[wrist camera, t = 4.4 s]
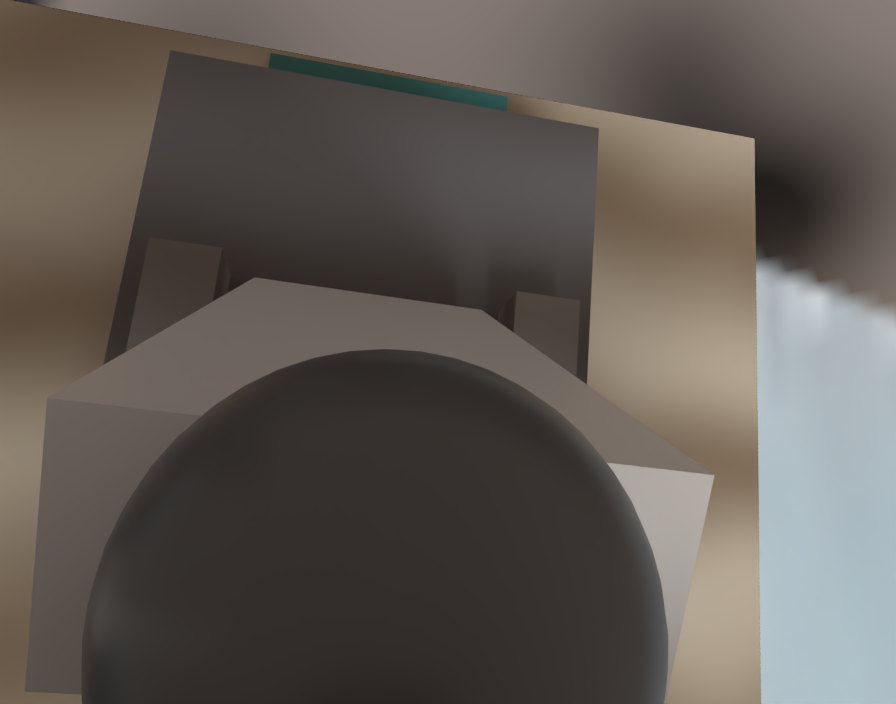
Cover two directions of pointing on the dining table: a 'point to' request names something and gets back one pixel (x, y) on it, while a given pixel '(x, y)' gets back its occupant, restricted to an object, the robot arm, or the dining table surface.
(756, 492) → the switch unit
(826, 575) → the dining table surface
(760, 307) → the dining table surface
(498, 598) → the lever
